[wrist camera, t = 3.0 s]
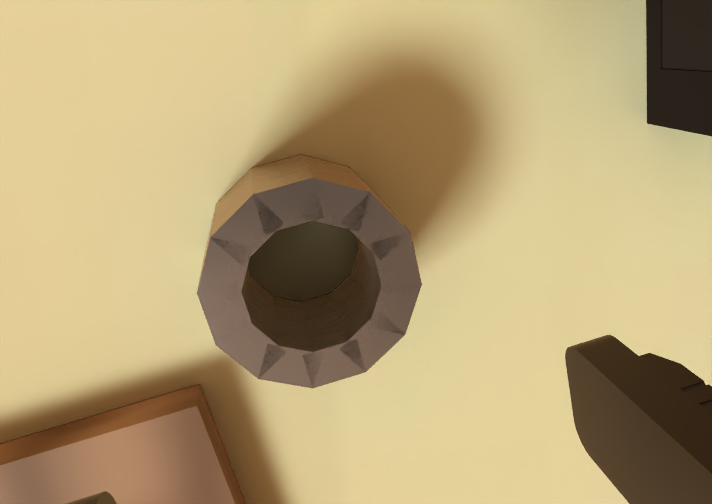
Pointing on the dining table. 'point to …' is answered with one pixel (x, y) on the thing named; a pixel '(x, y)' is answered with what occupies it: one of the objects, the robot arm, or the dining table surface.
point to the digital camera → (679, 64)
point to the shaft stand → (125, 457)
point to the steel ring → (319, 315)
